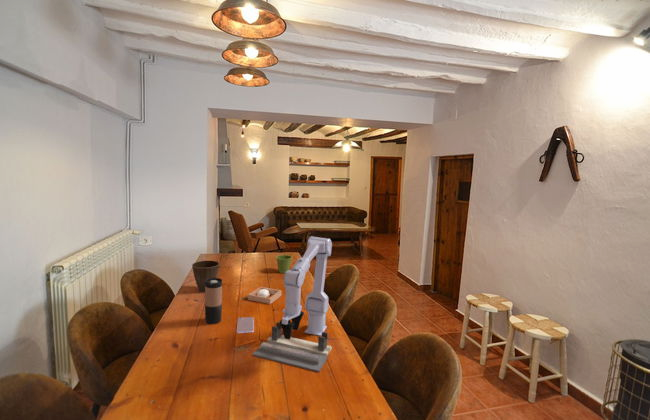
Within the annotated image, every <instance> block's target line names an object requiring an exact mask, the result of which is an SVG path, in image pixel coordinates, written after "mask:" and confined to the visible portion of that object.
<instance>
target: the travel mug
mask: <svg viewBox="0 0 650 420" xmlns="http://www.w3.org/2000/svg"><path fill="white" fill-rule="evenodd" d="M222 307H223V279H222V278H219V277H217V278H210V279H207V280H206V281H205V292H204V320H205V321H204V323H206V324H207V325H217V324H219V323H220V322H221V321H222V310H223V309H222Z"/></svg>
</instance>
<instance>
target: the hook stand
mask: <svg viewBox="0 0 650 420" xmlns="http://www.w3.org/2000/svg"><path fill="white" fill-rule="evenodd" d="M282 333H283V330H282V327H281V325H280V321H279V322H278V321H277V322H276V324H275V326H274V325H273V326H271V335H270V336H269V337H268V338H267V339H266V342H268V343H272V344H276V345H281V346H285V347H289V348H293V349H298V350H302V351H306V352H310V353H315V354H319V355H323V356H327V357H328V356H329V354H330V352H331V350H332V348H333V347H332V346H331V345H328V340H329V339H328V337H329V336H328V335H329V332H327V331H326V332H325V331H324V332H322V335H321V336H319V335H318V341H317V342H314V341H310V340H305V339H302V338H301V339H300V338H297V337H292V336H291V338H290V339H285V338H284V334H282Z"/></svg>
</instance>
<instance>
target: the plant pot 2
mask: <svg viewBox="0 0 650 420" xmlns="http://www.w3.org/2000/svg"><path fill="white" fill-rule="evenodd" d="M275 258H276V261H277V268H278V269H277V270H278V273H279V274H285V273H286V271H288V270H290V267H291V262H292V259H293V256H292V255H289V254H279V255H276V256H275Z"/></svg>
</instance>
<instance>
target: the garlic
mask: <svg viewBox="0 0 650 420" xmlns="http://www.w3.org/2000/svg"><path fill="white" fill-rule="evenodd" d="M270 295H271V294H269V291H268V290H267V289H261V290H259V291H258V293H257V296H262V297H267V298H268V297H269V296H270Z"/></svg>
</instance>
